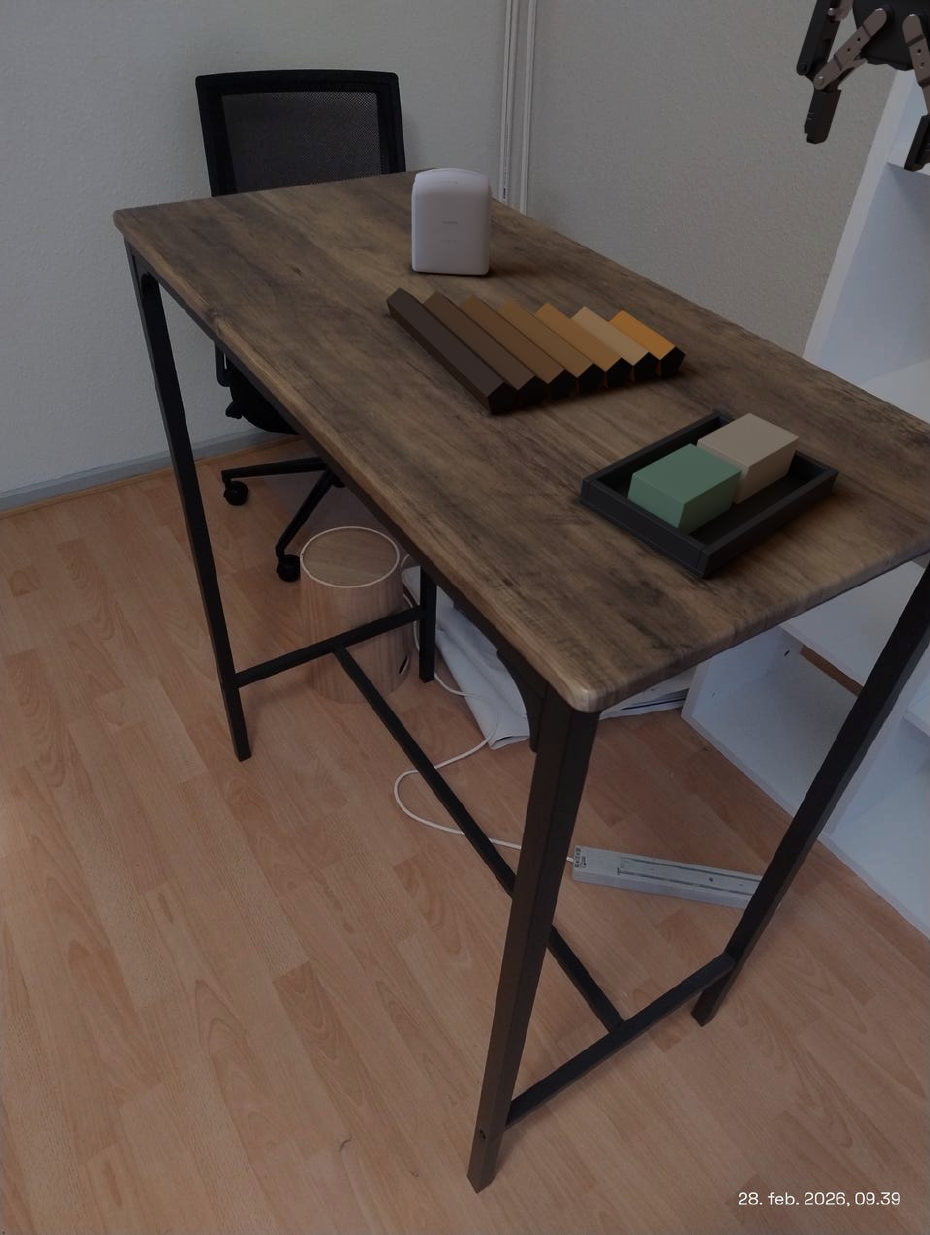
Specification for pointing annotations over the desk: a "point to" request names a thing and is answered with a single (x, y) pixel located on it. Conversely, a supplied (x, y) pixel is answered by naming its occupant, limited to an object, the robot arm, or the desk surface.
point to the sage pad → (685, 487)
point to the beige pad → (752, 452)
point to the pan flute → (532, 348)
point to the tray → (724, 531)
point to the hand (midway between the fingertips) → (863, 155)
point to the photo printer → (451, 222)
